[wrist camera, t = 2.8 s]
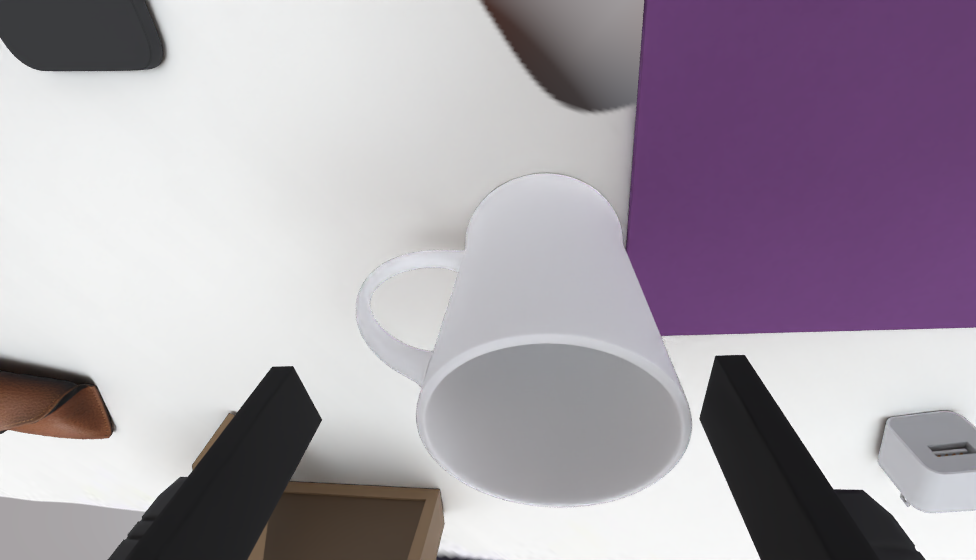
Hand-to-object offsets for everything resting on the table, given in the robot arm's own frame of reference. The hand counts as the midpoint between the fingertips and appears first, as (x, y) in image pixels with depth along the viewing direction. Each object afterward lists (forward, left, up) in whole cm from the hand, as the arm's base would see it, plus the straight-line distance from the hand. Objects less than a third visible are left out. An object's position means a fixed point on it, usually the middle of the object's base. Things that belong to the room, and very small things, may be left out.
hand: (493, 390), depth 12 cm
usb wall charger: (-26, +18, -11) cm, 34 cm away
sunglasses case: (+46, +11, -11) cm, 48 cm away
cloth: (-16, -3, -11) cm, 20 cm away
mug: (0, 0, -11) cm, 11 cm away
